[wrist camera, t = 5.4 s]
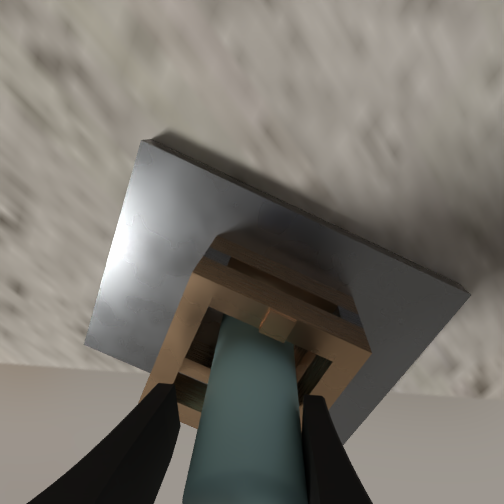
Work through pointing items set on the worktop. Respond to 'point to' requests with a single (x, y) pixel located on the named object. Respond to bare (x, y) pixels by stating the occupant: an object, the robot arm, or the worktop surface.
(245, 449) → the teal cylinder
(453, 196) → the worktop surface
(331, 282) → the wooden crate on slab
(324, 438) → the robot arm
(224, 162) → the worktop surface
